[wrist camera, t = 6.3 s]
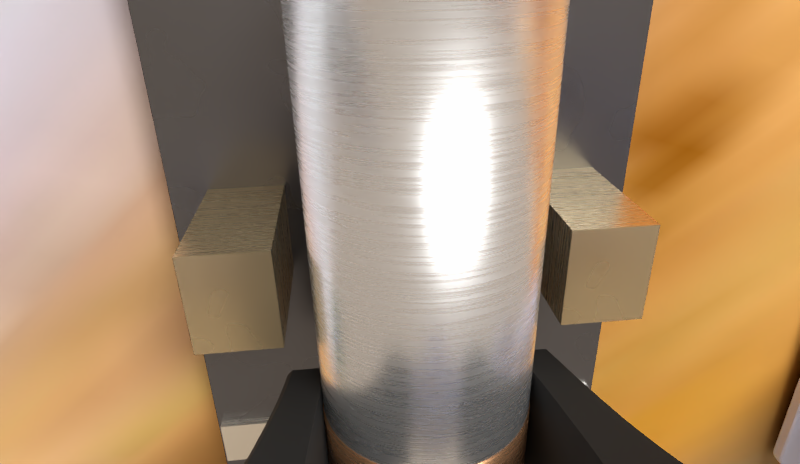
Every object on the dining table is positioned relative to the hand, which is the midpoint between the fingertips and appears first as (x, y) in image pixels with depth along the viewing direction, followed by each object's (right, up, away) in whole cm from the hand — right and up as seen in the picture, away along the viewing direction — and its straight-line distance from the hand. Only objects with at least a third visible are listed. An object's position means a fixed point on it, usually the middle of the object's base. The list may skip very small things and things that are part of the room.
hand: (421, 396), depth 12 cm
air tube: (0, +1, +1) cm, 1 cm away
